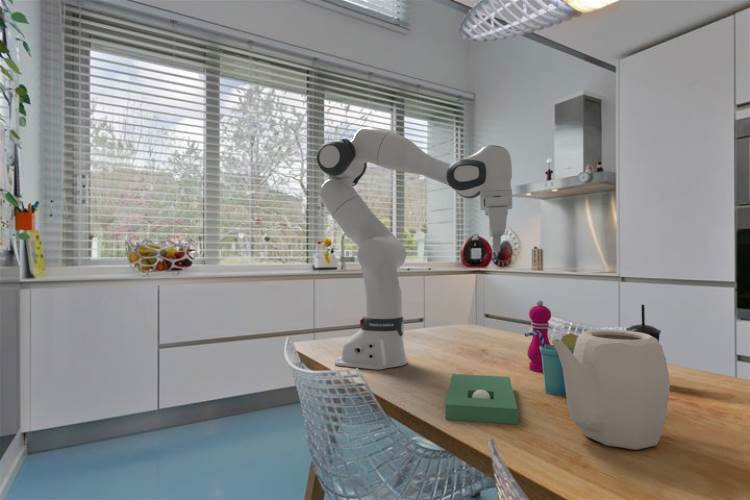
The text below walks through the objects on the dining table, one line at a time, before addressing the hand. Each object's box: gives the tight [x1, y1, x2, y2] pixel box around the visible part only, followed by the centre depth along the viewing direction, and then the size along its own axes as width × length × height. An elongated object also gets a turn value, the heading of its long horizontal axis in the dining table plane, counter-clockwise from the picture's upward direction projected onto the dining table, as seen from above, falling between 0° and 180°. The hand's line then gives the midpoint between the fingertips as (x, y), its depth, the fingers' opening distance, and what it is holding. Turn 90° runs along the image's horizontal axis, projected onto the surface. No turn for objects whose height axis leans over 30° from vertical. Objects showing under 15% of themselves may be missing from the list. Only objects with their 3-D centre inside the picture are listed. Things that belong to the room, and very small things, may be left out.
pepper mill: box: [526, 299, 552, 373], centre depth 130 cm, size 7×7×20 cm
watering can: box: [550, 328, 671, 451], centre depth 81 cm, size 16×27×19 cm, turn 111°
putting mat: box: [445, 373, 519, 425], centre depth 102 cm, size 14×24×3 cm, turn 167°
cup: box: [524, 330, 579, 397], centre depth 109 cm, size 14×8×15 cm, turn 99°
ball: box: [472, 390, 491, 399], centre depth 97 cm, size 4×4×4 cm
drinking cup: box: [625, 304, 662, 341], centre depth 116 cm, size 8×8×20 cm
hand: (496, 251), depth 128 cm, fingers closed
